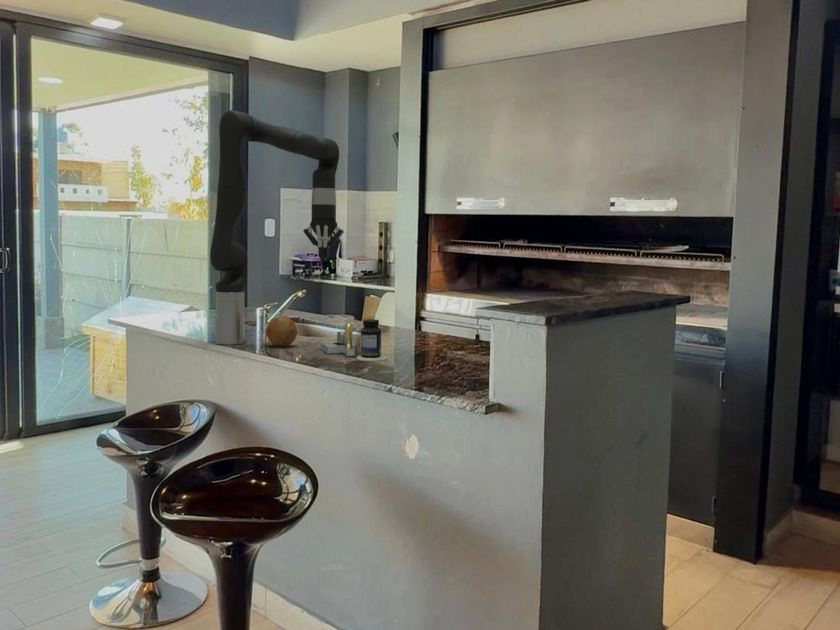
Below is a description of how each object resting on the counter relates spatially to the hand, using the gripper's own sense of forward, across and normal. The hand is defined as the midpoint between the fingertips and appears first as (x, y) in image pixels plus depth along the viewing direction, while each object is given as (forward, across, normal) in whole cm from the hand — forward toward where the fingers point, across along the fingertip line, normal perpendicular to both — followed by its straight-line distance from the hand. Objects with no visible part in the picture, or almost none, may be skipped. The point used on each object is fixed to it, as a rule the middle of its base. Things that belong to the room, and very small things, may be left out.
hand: (323, 259), depth 240 cm
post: (+29, +6, +2) cm, 30 cm away
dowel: (+29, +12, -6) cm, 32 cm away
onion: (+29, -15, +6) cm, 33 cm away
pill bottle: (+29, +18, -10) cm, 35 cm away
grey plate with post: (+29, +7, -1) cm, 30 cm away
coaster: (+29, +18, -10) cm, 36 cm away
